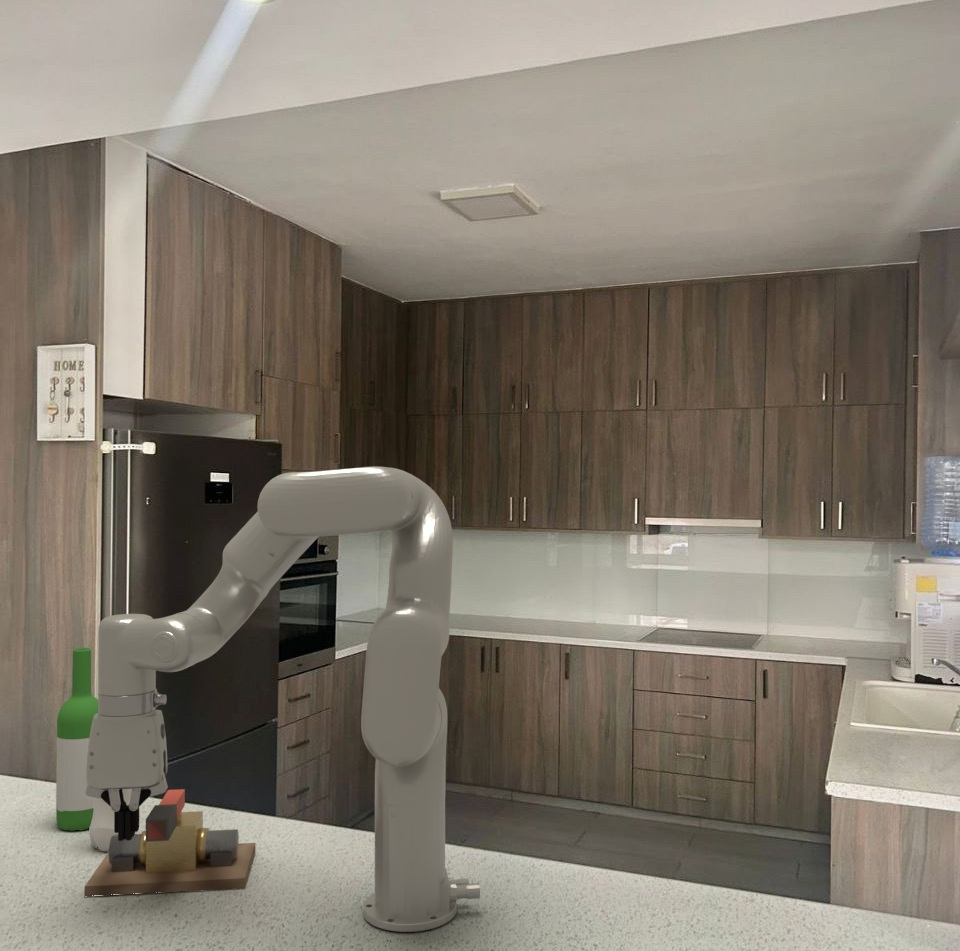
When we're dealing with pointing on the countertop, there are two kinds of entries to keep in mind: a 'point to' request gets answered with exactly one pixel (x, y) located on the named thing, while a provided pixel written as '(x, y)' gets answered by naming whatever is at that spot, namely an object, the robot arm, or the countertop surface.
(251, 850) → the mounting board
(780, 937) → the countertop surface
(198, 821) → the ball valve
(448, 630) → the robot arm
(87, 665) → the wine bottle
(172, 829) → the valve lever
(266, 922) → the countertop surface
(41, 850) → the countertop surface
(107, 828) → the water bottle
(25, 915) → the countertop surface
